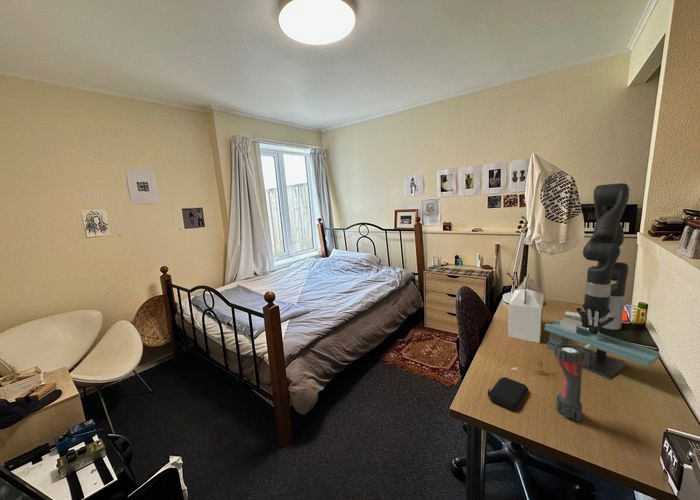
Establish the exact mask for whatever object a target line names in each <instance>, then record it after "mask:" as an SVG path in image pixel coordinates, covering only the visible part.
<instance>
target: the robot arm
mask: <svg viewBox="0 0 700 500" xmlns="http://www.w3.org/2000/svg"><path fill="white" fill-rule="evenodd" d="M629 198H630V188H629V185H628V184H627V183H624V182H623V183H622V182H620V183H609V184H608V183H606V184H601V185H597V186H595V188H594V190H593V202H594V203H593V204H594V212H595V219H596V221H595V225H594V228H593V231H592V235H591V237H590V239H589V240H588V241H587V243H586V244H585V245H584V247H583V250H582V256H583V258H585V259H586V260H587V261H594V262H597V265H595V266H594V265H593V266H590V267H588V269H587V271H586V272H587V273H586V283H585V288H584V298H583V299H584V300H583V301H584V302H583V304H582V306H579V307H576V309H575V310H576V313H579V315H580V316H581V320H582V321H583V322H584V323H586V324H587V323H588V330H589V332H590V334H593V335H596V334H598V333H600V328H603V329H607V330H613V331H615V330H616V331H617V330H620V329H621V328H622V322H623V321H622V320H623V315H624V314H623V311H624V306H625V305H624V303H625V293H626V286H627V285H626V284H627V278H628V274H629V265H628V264H627V263H626V262H618V260H619V256H620V255H621V248H620V247H621V246H622V245H623V244H624V237H625V235H624V233H625V232H624V227H623V226H622V225H621V223H620V222H621V218H622V217H623V214H624V212H625V209H626V207H627V204H628V202H629ZM607 207H611V208H610V209H609V210H607ZM611 281H613V282H616V283H612V282H611ZM611 283H612V284H611Z"/></svg>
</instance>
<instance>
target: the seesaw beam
mask: <svg viewBox="0 0 700 500" xmlns="http://www.w3.org/2000/svg"><path fill="white" fill-rule="evenodd" d="M544 331H547V332H549V336H548V337H549V339H548V340H549V341H548V342H549V343H552V344H560V342H566V344H568V343H570V340H571V341H573V342H574V341H575V342H578V343H581V344H583V345H585V346H584V348H585V349H589V350H590V348H594V349H596V350H597V349H600V350H602V351H605V352H607V354H611V355H614V356H616V357H620V358H623V359H625V360H628V361H631V362H634V363H636V364H640V365H641V366H646V367H650V366H651V365H653V363H655V362H656V361H657V360H658V359H659V358H660V355H659V354H660V351H658V350H655V349H652V348H651V349H650V348H648V347H645V346H641V345H638V344H636V343H632V342H629V341H626V340H622V339H619V338H616V337H612V336H609V335H607V334H603V333H600V332H599V333H598V334H596V335H593V334H590V332H589V328H588V329H587V328H585V327H582V333H581V334H577V333H574V332H571V331H568V330H565V329H562V328H560V320H558V319H554V321H553V322H552V323H551V324H550V323H545V325H544Z"/></svg>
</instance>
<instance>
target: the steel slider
mask: <svg viewBox="0 0 700 500" xmlns="http://www.w3.org/2000/svg"><path fill="white" fill-rule="evenodd" d="M559 321H560V328H562V329H565V330H568V331H571V332H574V333H577V334H581V333H582V328H583V322H582V321H581V322H580V321H576V320H573V319H570V318H562V319H561V320H559Z"/></svg>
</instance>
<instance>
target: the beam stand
mask: <svg viewBox="0 0 700 500" xmlns="http://www.w3.org/2000/svg"><path fill="white" fill-rule="evenodd" d="M568 344H571V343H570V342H569V343H568ZM579 348H580V349H583V350H584V351H585V354H584V362H583V369H582V370H585V371H588V372H590V373H593V374H595V375H598V376H600V377H602V378H604V379H607V380H610V379H611V378H612V377H614V376H615V375H617V374H618V373H619V372H621V371H622V370H624V369H625V368H626V367H628V363H626V362H625V361H624V362H623V361H621V360H619V359H615V358H612V357H611V356H608V352H605V351H602V350H600V349H597V348H596V351H594V350H591V349H590V348H589V349H585V347H583V346H580V345H579ZM546 349H548V350H550V351H553V352H554V350H555V344H552V343H549V341H548V342H547V343H546Z"/></svg>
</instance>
